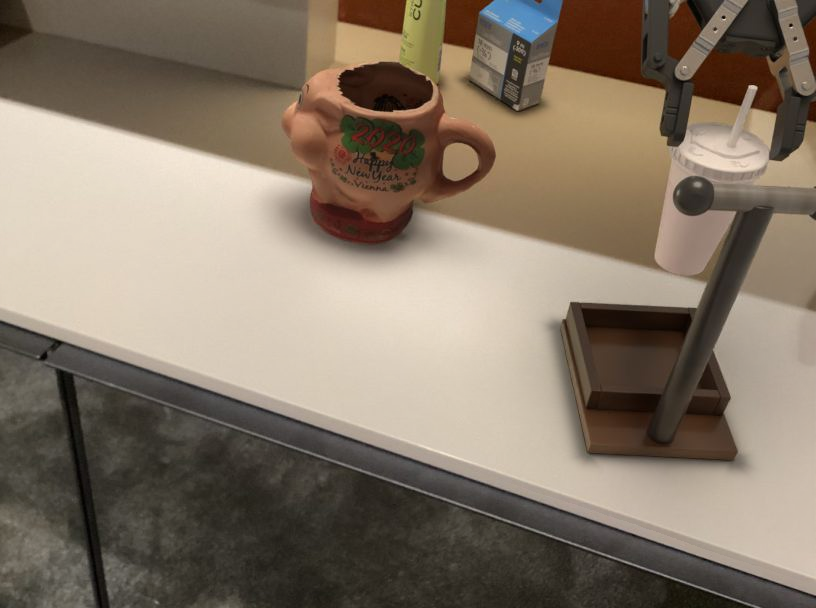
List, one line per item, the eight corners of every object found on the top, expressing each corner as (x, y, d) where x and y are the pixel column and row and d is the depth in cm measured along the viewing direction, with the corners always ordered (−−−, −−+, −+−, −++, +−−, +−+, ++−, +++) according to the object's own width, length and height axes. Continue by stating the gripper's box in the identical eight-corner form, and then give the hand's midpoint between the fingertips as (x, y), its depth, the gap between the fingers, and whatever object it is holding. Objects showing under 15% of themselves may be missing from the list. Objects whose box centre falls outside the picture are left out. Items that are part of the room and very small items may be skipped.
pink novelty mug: (488, 202, 96) (513, 71, 86) (471, 275, 88) (497, 139, 78) (295, 169, 99) (298, 40, 90) (261, 237, 91) (260, 101, 81)
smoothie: (722, 295, 69) (797, 119, 59) (631, 275, 70) (688, 100, 60) (726, 244, 73) (796, 72, 63) (640, 226, 74) (695, 55, 64)
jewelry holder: (688, 333, 83) (791, 82, 66) (734, 460, 72) (869, 199, 56) (559, 327, 83) (631, 74, 67) (587, 453, 73) (680, 190, 56)
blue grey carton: (466, 80, 114) (482, -25, 106) (491, 72, 116) (509, -32, 107) (516, 112, 109) (538, 5, 101) (542, 103, 111) (565, -3, 102)
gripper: (673, -146, 60) (626, 119, 60) (917, -123, 58) (868, 152, 58) (646, -86, 68) (605, 150, 68) (863, -63, 66) (819, 180, 66)
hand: (727, 150), depth 63 cm, fingers closed on smoothie, 6 cm apart
